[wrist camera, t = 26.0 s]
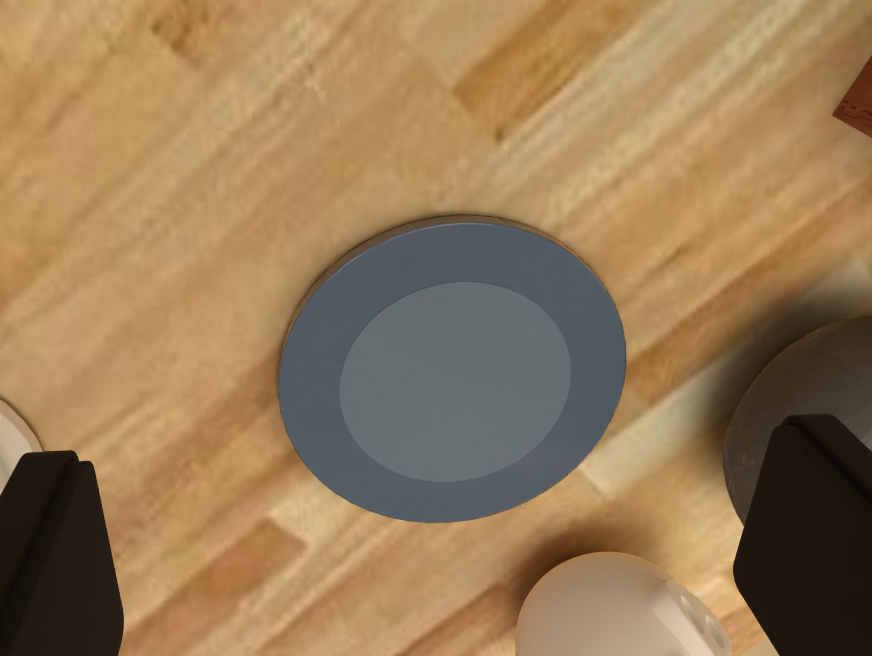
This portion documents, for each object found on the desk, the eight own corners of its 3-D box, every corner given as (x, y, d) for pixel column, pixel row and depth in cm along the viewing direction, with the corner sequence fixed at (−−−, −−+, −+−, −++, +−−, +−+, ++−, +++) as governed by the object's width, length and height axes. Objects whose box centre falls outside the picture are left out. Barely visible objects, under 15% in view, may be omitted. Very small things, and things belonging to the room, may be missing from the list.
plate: (287, 521, 44) (286, 534, 43) (268, 216, 36) (267, 224, 35) (595, 502, 47) (601, 514, 46) (646, 212, 38) (654, 220, 37)
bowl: (814, 526, 50) (920, 656, 41) (637, 444, 45) (716, 573, 36) (989, 344, 45) (1153, 448, 36) (813, 228, 40) (954, 317, 31)
